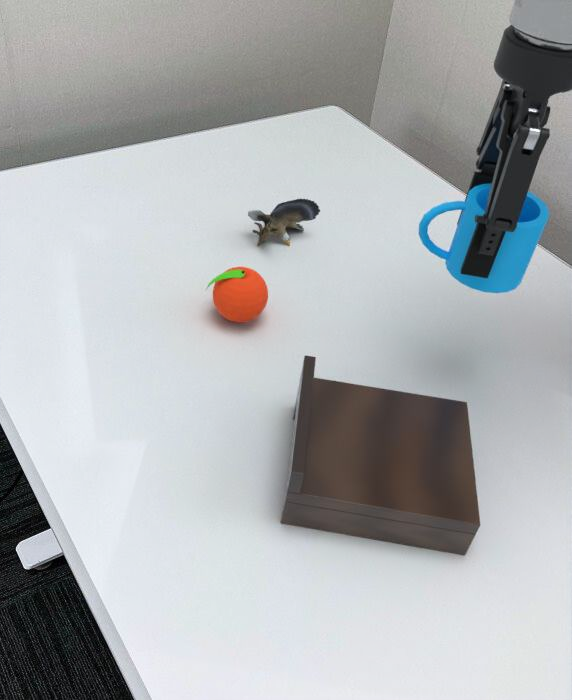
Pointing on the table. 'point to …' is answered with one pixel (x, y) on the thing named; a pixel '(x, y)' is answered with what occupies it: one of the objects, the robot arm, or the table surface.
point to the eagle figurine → (284, 218)
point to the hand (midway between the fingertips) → (471, 249)
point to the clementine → (239, 294)
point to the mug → (512, 249)
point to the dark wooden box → (381, 465)
